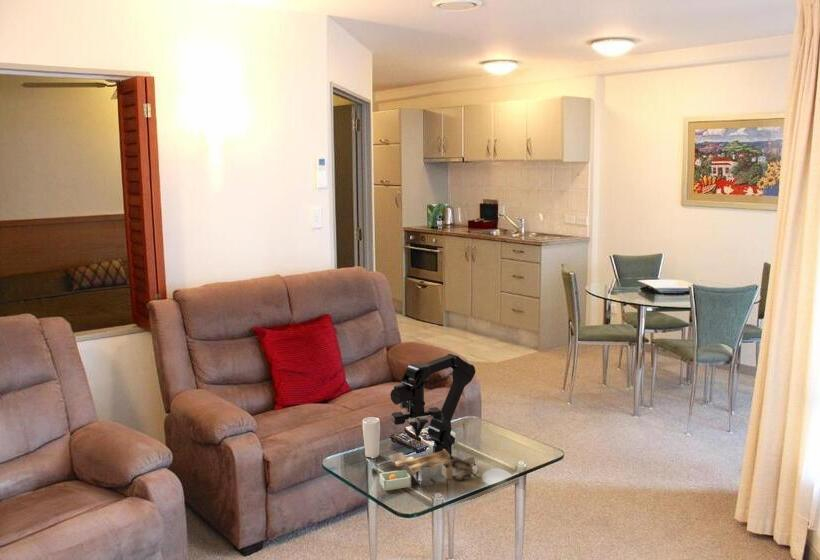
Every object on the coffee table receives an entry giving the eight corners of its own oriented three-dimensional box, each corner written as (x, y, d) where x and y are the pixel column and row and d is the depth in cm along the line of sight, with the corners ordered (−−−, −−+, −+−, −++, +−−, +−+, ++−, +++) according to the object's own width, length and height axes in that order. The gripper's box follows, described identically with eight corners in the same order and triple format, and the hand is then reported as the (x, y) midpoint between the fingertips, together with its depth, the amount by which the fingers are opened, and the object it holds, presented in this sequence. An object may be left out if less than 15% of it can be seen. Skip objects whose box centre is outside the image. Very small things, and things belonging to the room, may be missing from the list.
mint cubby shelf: (405, 478, 269) (405, 469, 268) (411, 486, 262) (411, 477, 262) (379, 482, 266) (379, 473, 265) (384, 490, 259) (384, 481, 259)
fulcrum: (446, 470, 274) (446, 453, 273) (454, 481, 266) (454, 463, 265) (412, 475, 271) (412, 458, 269) (420, 486, 262) (419, 468, 261)
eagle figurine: (470, 466, 275) (448, 466, 272) (477, 456, 270) (455, 455, 267) (475, 484, 269) (452, 484, 266) (482, 474, 265) (459, 473, 262)
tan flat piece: (438, 446, 279) (437, 440, 278) (451, 461, 266) (450, 455, 265) (389, 460, 274) (388, 454, 273) (400, 476, 261) (399, 470, 260)
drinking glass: (373, 461, 283) (372, 424, 280) (359, 456, 287) (358, 420, 284) (384, 455, 289) (383, 419, 286) (371, 450, 293) (370, 415, 290)
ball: (394, 481, 266) (396, 473, 265) (397, 485, 263) (399, 477, 262) (386, 480, 265) (388, 472, 264) (389, 484, 262) (391, 476, 261)
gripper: (433, 388, 283) (433, 426, 286) (386, 393, 277) (387, 432, 280) (442, 397, 272) (443, 437, 275) (394, 403, 267) (395, 443, 270)
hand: (417, 437), depth 276 cm, fingers closed
